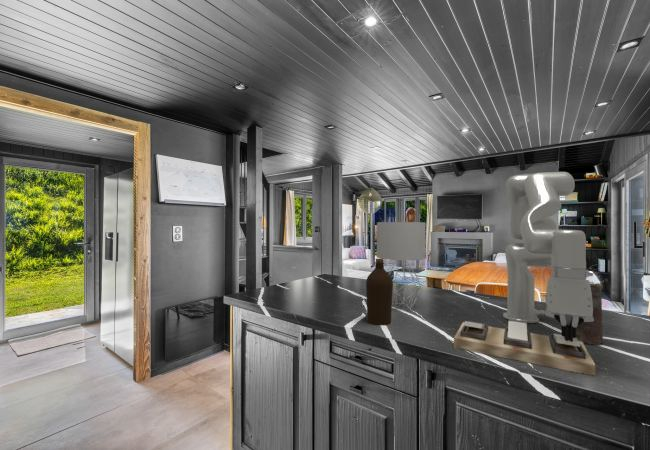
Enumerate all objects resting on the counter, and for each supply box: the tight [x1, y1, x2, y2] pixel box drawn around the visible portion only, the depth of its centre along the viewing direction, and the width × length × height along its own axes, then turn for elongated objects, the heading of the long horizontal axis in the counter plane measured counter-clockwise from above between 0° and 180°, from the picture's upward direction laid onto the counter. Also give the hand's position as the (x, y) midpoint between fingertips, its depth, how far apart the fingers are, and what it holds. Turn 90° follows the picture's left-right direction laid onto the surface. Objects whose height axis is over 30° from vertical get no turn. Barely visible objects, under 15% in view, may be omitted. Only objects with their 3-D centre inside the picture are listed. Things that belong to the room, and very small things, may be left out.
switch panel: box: [453, 320, 596, 377], centre depth 96 cm, size 34×19×4 cm, turn 58°
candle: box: [576, 282, 604, 345], centre depth 104 cm, size 8×7×20 cm
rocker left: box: [464, 320, 486, 329], centre depth 103 cm, size 5×11×1 cm, turn 148°
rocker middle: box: [507, 320, 528, 343], centre depth 96 cm, size 5×11×1 cm, turn 148°
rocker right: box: [553, 333, 580, 347], centre depth 90 cm, size 5×11×1 cm, turn 148°
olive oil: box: [365, 258, 394, 326], centre depth 123 cm, size 11×11×25 cm
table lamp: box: [376, 221, 427, 311], centre depth 146 cm, size 22×22×40 cm
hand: (568, 339), depth 86 cm, fingers closed
